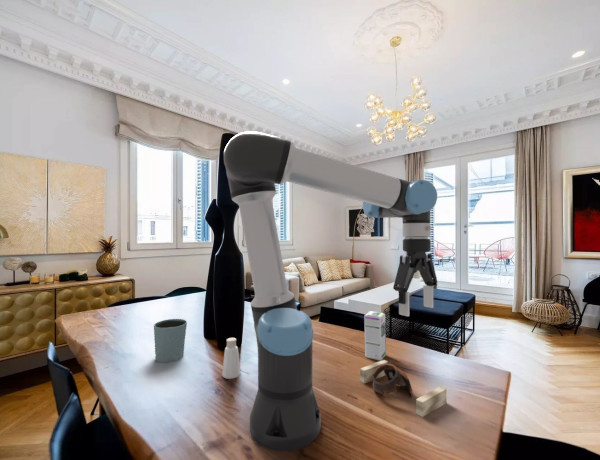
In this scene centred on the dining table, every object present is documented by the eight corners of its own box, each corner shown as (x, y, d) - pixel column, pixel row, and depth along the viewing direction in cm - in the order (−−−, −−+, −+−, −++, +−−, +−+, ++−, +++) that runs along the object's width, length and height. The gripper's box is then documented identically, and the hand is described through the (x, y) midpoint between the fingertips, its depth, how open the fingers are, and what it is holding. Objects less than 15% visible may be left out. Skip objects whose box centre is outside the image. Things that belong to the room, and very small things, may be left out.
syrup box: (381, 361, 91) (381, 316, 92) (364, 357, 95) (364, 314, 95) (386, 354, 96) (386, 312, 96) (369, 351, 99) (369, 310, 100)
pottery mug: (420, 407, 67) (405, 379, 66) (384, 419, 69) (369, 392, 68) (409, 372, 79) (396, 348, 78) (378, 383, 81) (365, 360, 80)
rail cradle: (422, 420, 62) (422, 402, 62) (360, 382, 78) (360, 368, 78) (446, 405, 68) (446, 388, 68) (384, 373, 84) (383, 359, 84)
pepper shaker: (220, 374, 83) (220, 337, 83) (238, 370, 85) (238, 334, 85) (223, 383, 78) (223, 343, 78) (242, 379, 80) (242, 340, 80)
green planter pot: (148, 359, 93) (149, 323, 94) (178, 349, 101) (179, 316, 101) (160, 368, 87) (160, 330, 87) (192, 358, 94) (192, 322, 94)
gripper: (404, 238, 71) (405, 322, 70) (448, 237, 86) (449, 306, 86) (379, 238, 76) (380, 315, 76) (425, 237, 92) (425, 301, 92)
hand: (416, 311), depth 81 cm, fingers open, 13 cm apart
